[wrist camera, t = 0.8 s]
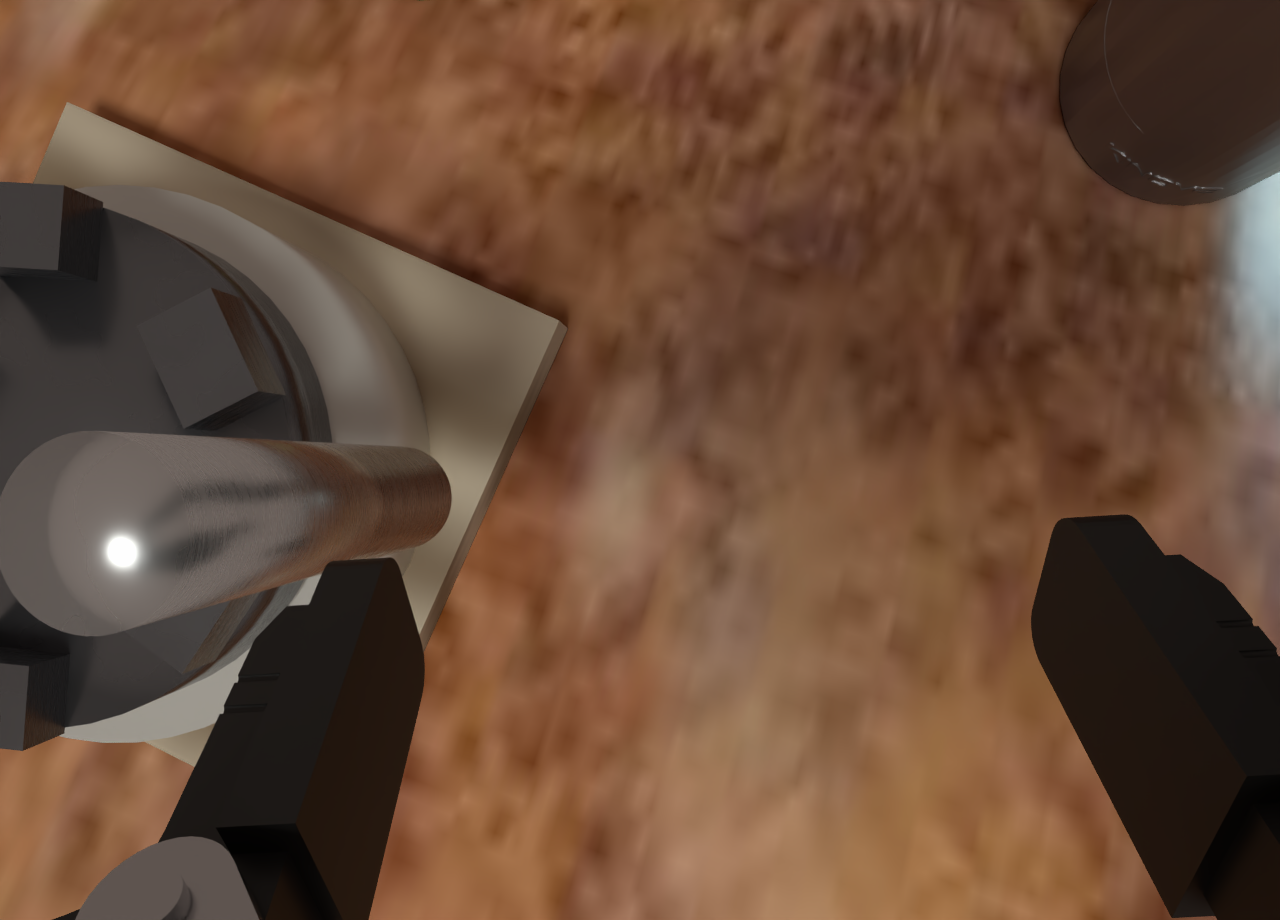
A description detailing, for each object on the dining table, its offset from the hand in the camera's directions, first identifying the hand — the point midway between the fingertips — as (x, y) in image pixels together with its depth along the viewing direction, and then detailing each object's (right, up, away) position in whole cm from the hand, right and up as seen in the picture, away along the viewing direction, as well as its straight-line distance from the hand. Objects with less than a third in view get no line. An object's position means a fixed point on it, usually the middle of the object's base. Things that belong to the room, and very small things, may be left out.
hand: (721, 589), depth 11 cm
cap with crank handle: (-17, +1, +18) cm, 25 cm away
